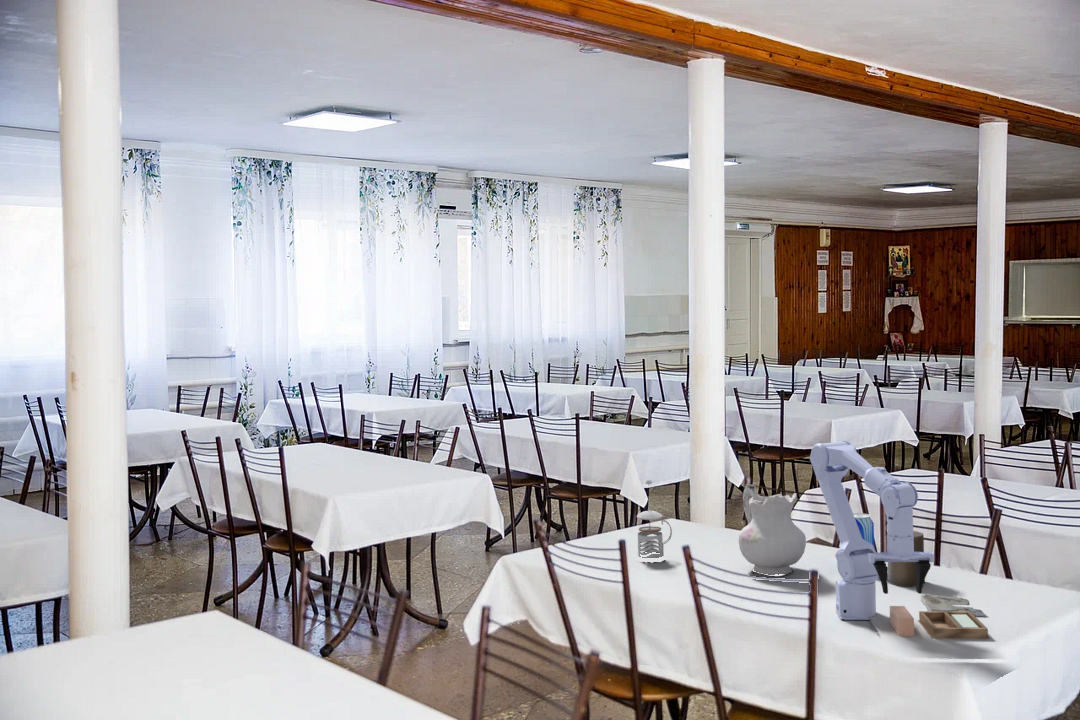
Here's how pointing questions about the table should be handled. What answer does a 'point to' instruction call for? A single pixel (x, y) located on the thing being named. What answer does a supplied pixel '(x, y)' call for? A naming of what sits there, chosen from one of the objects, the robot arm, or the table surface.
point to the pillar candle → (905, 565)
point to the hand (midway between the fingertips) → (902, 592)
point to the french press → (648, 530)
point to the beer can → (865, 526)
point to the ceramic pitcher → (770, 533)
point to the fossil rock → (948, 604)
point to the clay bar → (902, 621)
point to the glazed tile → (964, 621)
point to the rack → (950, 625)
